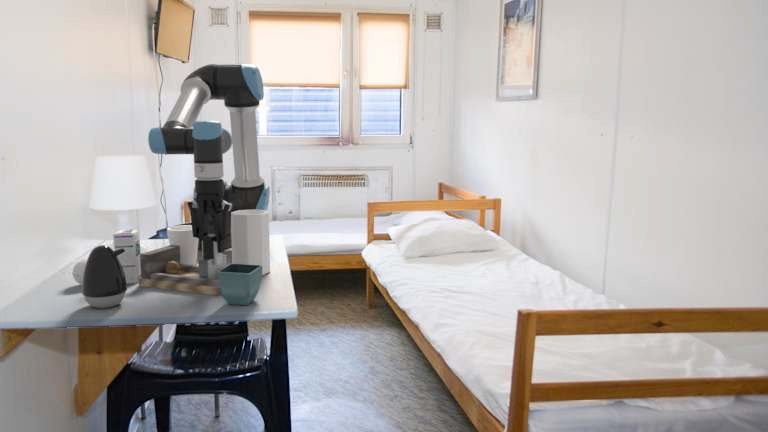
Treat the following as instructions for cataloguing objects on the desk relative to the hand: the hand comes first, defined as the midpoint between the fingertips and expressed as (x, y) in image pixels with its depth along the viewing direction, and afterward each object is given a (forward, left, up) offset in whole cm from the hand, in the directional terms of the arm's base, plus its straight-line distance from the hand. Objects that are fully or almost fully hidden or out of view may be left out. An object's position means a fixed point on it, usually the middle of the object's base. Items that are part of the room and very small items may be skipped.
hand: (212, 263), depth 169 cm
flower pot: (+10, +15, -7) cm, 20 cm away
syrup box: (+4, -26, -7) cm, 27 cm away
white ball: (+12, -35, -7) cm, 37 cm away
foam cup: (-13, -20, -7) cm, 24 cm away
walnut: (0, -14, -3) cm, 14 cm away
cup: (-17, +1, -7) cm, 18 cm away
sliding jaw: (0, 0, -4) cm, 4 cm away
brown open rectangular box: (0, -7, -7) cm, 9 cm away
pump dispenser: (+24, -15, -7) cm, 29 cm away
